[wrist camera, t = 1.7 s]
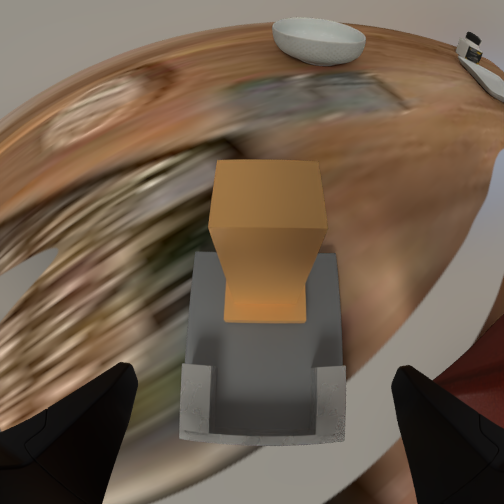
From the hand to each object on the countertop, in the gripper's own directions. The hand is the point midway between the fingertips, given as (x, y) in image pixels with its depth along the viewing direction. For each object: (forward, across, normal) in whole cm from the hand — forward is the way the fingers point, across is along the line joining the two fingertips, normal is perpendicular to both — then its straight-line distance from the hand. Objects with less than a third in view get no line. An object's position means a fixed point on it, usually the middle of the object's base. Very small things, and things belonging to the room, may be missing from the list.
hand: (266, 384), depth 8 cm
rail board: (+11, 0, +7) cm, 13 cm away
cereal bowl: (+46, -10, -27) cm, 54 cm away
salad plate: (+57, -70, -37) cm, 97 cm away
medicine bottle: (+72, -74, -53) cm, 116 cm away
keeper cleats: (+7, 0, +10) cm, 12 cm away
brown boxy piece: (+16, 0, +1) cm, 16 cm away
